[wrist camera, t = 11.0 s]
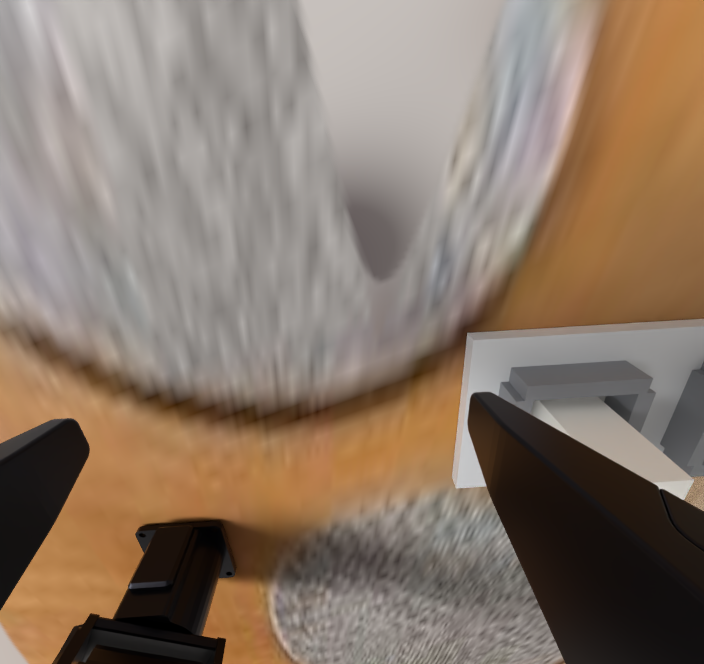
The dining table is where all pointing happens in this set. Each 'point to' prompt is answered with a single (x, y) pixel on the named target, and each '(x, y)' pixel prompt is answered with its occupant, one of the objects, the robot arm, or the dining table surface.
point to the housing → (595, 381)
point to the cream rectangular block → (613, 439)
